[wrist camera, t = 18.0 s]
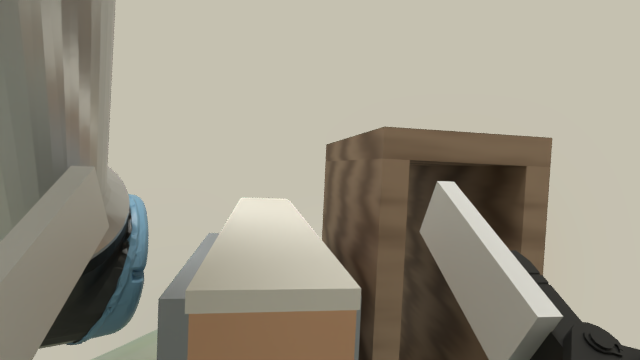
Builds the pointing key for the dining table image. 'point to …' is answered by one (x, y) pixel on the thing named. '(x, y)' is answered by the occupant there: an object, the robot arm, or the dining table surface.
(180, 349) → the grey bench
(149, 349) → the dining table surface
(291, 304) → the slim box
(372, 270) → the walnut stand
